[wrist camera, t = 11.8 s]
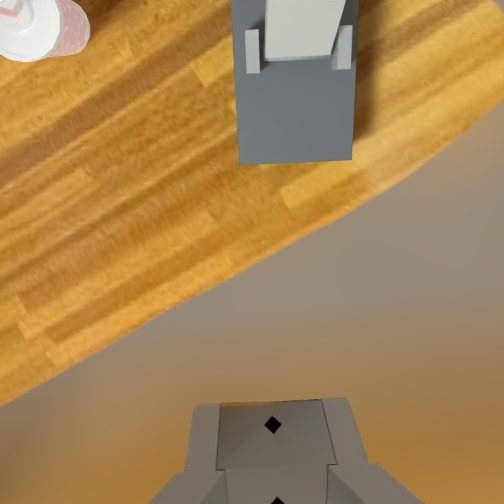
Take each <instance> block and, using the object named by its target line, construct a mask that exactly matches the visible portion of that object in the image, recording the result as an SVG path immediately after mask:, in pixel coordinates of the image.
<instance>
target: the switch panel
mask: <svg viewBox="0 0 504 504" xmlns="http://www.w3.org/2000/svg"><path fill="white" fill-rule="evenodd" d="M265 11H266V0H231V17H232V36H233V55H234V74H235V93H236V112H237V131H238V150H239V165H254V164H276V163H298V162H320V161H343V160H352V145H353V123H354V101H355V79H356V56H357V34H358V12H359V0H346V1H345V5H344V8H343V12H342V15H341V19H340V22H339V26H338V29H337V33H336V36H335V39H334V43H333V46H332V50H331V56H330V59H316V60H294V61H272V62H264V59H263V42H265Z"/></svg>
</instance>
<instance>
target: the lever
mask: <svg viewBox="0 0 504 504" xmlns="http://www.w3.org/2000/svg"><path fill="white" fill-rule="evenodd" d="M345 1H346V0H266V11H265V42H263V59H264V62H272V61H294V60H316V59H330V56H331V50H332V46H333V43H334V39H335V36H336V33H337V29H338V26H339V22H340V19H341V15H342V12H343V8H344V5H345Z"/></svg>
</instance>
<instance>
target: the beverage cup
mask: <svg viewBox="0 0 504 504" xmlns="http://www.w3.org/2000/svg"><path fill="white" fill-rule="evenodd" d="M89 38H90V24H89V21H88V18H87V15H86V14H85V12H84V11H83V10H82V8H81V7H80V6H79V5H78V4H76V3H75V2H73V1H72V0H0V54H1V55H3V56H4V57H6V58H8V59H10V60H16V61H22V62H32V61H36V60H40V59H44V58H46V57H52V56H64V55H71V54H75V53H79V52H80V51H81V50H82V49H83V48H84V47H85V46H86V45H87V42H88V40H89Z"/></svg>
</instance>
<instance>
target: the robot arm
mask: <svg viewBox="0 0 504 504" xmlns="http://www.w3.org/2000/svg"><path fill="white" fill-rule="evenodd" d="M148 504H424V503H423V502H421V501H420V500H419V499H418V498H417V497H416V496H415V495H413V494H412V493H411V492H410V491H409V490H408V489H406V488H405V487H404V486H403V485H402V484H400V483H399V482H398V481H397V480H396V479H394V478H393V477H392V476H391V475H390V474H389V473H388V472H386V471H385V470H384V469H383V468H382V467H381V466H379V465H378V464H377V463H376V464H369V462H368V459H367V456H366V453H365V450H364V447H363V444H362V441H361V438H360V435H359V432H358V429H357V425H356V422H355V419H354V416H353V413H352V410H351V407H350V404H349V401H348V399H347V398H346V397H334V398H321V399H309V400H289V401H271V402H232V403H231V402H229V403H228V402H227V403H205V404H196V405H195V407H194V409H193V416H192V422H191V430H190V436H189V442H188V449H187V457H186V463H185V469H184V472H180V473H175V474H174V476H173V477H172V478H171V479H170V480H169V481H168V482H167V483H166V484H165V486H164V487H163V488H162V489H161V490H160V491H159V492H158V493H157V494H156V495H155V497H154V498H153V499H152V500H151V501H150V502H149V503H148Z"/></svg>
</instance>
